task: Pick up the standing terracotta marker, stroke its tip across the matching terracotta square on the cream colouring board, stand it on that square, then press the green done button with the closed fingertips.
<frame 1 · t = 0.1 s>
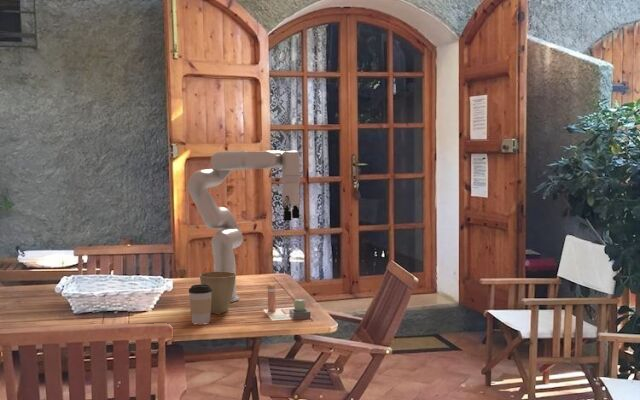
hand: (291, 219, 321), 37 cm above the table, tool pointing down, fingers open, 9 cm apart
done button: (299, 306, 299), point 5 cm above the table, slide at 0.0 cm
plant pot: (218, 312, 311), on the table
coffee cup: (201, 323, 293), on the table
button housing: (300, 316, 299), resting on colouring board
marker: (271, 311, 309), point 1 cm above the table, touching colouring board
colouring board: (286, 314, 304), on the table
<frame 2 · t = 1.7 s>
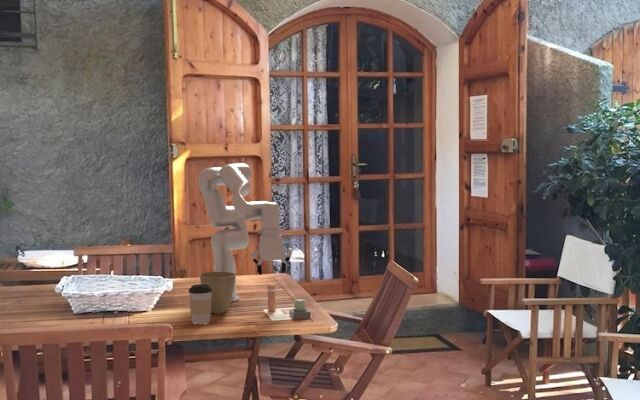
hand: (271, 273, 307), 16 cm above the table, tool pointing down, fingers open, 9 cm apart
nothing on the table moved.
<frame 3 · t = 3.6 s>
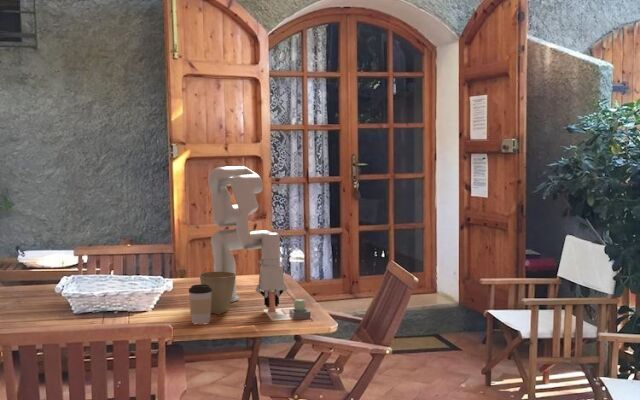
hand: (271, 305, 309), 3 cm above the table, tool pointing down, fingers closed on marker, 3 cm apart
marker: (271, 311, 309), point 1 cm above the table, touching colouring board, gripper
everything else where it was.
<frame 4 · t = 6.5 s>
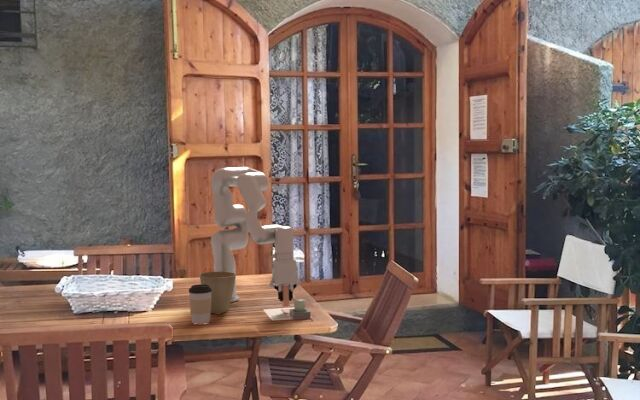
hand: (285, 300, 306), 5 cm above the table, tool pointing down, fingers closed on marker, 3 cm apart
marker: (285, 305, 307), point 3 cm above the table, touching gripper
everything else where it was.
when the fingers open (3 cm above the table, at t = 9.4 s): marker stays where it is, resting on colouring board.
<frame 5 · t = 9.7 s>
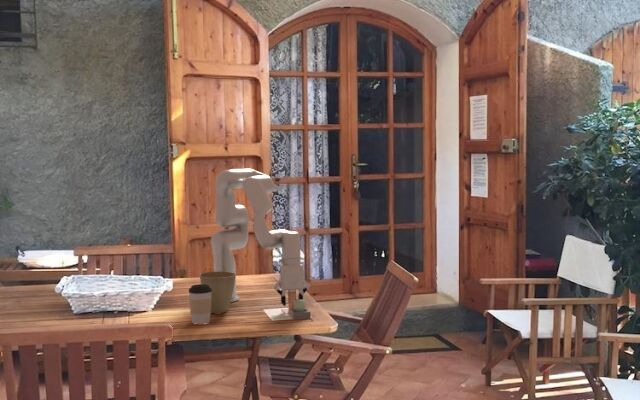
hand: (292, 304, 308), 4 cm above the table, tool pointing down, fingers open, 6 cm apart
marker: (292, 311, 308), point 1 cm above the table, touching colouring board
everything else where it was.
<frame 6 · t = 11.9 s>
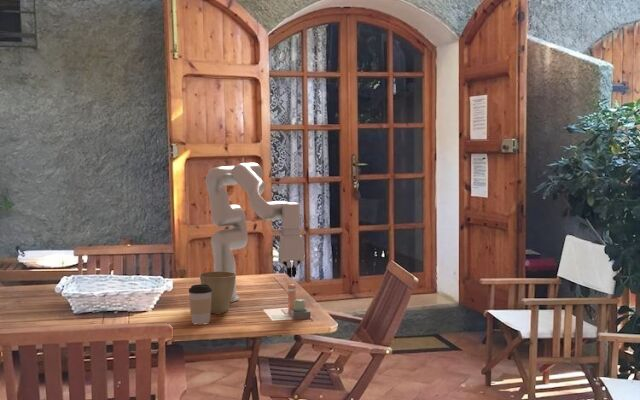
hand: (291, 276, 307), 15 cm above the table, tool pointing down, fingers closed
nothing on the table moved.
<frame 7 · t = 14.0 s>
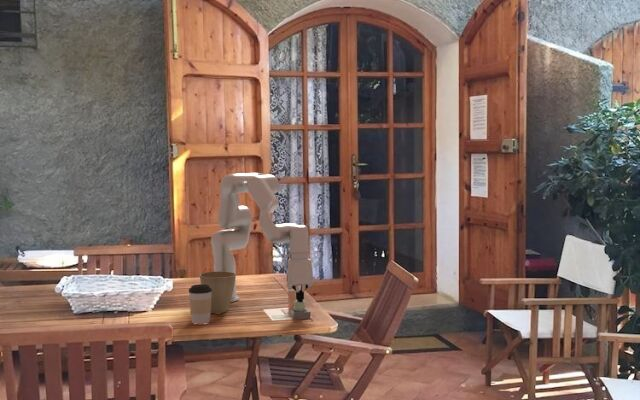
hand: (300, 301, 298), 7 cm above the table, tool pointing down, fingers closed
done button: (299, 307, 299), point 4 cm above the table, slide at 0.4 cm, touching gripper
everything else where it was.
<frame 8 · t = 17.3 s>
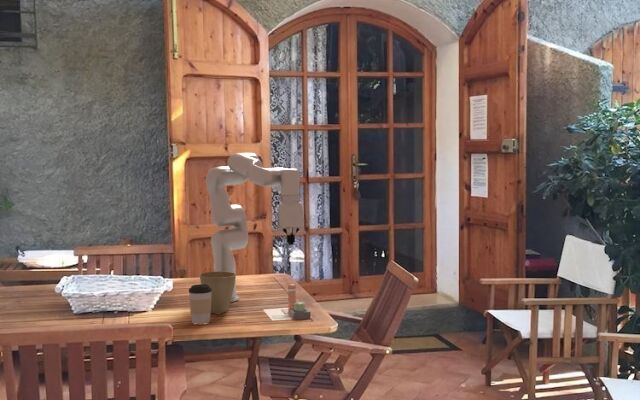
hand: (290, 244, 302), 29 cm above the table, tool pointing down, fingers closed
done button: (299, 309, 299), point 3 cm above the table, slide at 1.2 cm
everything else where it was.
at the end: marker inside the target area (0.0 cm from its centre), point 0.7 cm above the table; marker tilted 0°; done button slide at 1.2 cm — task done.
